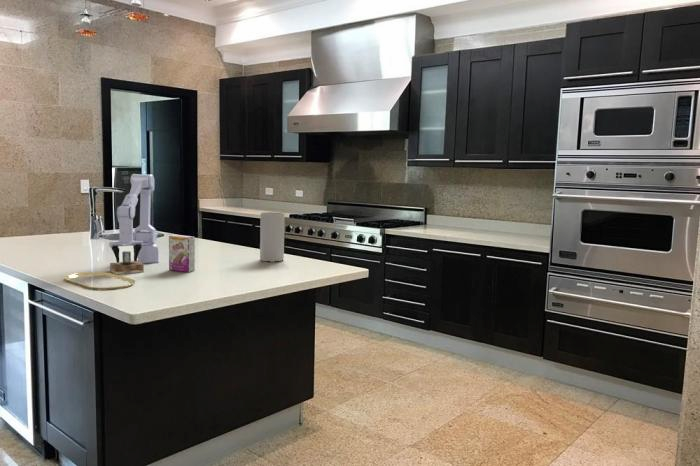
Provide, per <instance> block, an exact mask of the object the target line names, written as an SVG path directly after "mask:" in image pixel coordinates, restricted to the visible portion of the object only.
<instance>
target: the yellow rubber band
mask: <svg viewBox="0 0 700 466" xmlns="http://www.w3.org/2000/svg"><path fill="white" fill-rule="evenodd" d="M85 275H87V276H103V275H106V276H105V277H109V276H110V277H109V278H112V277H114V278H113V279H116V278H117V280H119V279H121V280H120V281H123V282H126V281H128V282H127V283H129V284H125V285H119V286H110V287H109V286H107V287H106V286H105V287H104V286H102V287H101V286H98V287H97V286H89V285H86V284H83V283H80V282H76V281H74V280H71V279H74V278H77V277H78V276H79V277H84V276H85ZM85 277H86V276H85ZM64 279H65V281H67V282H68V283H72V284H75V285H78V286H80V285H81V287H84V288H86V289H87V288H88V289H90V288H92V289H91V290H97V289H112V290H118V289H117V288H121V289H126V288H129V287H131V285H132V286H133V285H134V284H135V282H136V280H135V279H133V278H129V277H126V276H121V275H120V274H115V273H111V272H104V271H101V272H99V271H92V272H91V271H90V272H89V271H88V272H79V273H73V274H68V275H67V276H66V277H64ZM125 287H126V288H125Z"/></svg>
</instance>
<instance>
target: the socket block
mask: <svg viewBox="0 0 700 466" xmlns="http://www.w3.org/2000/svg"><path fill="white" fill-rule="evenodd" d="M144 267H145V266H144V263H140V262H138V261H134V260H131V264H129V265H123V262H122V261H121V262H120V261H119V263H117V262H109V270H110V272H112V274H115V275H123V274H134V273H144V272H145V271H144V270H145V269H144Z"/></svg>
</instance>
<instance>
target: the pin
mask: <svg viewBox="0 0 700 466" xmlns="http://www.w3.org/2000/svg"><path fill="white" fill-rule="evenodd" d="M121 255H122V257H121V259H122V261H121V262H123V265H129V264H131V261H132V255H131V251H129V250H128V251H127V250H124V251H122V252H121Z"/></svg>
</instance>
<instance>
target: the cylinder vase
mask: <svg viewBox="0 0 700 466" xmlns="http://www.w3.org/2000/svg"><path fill="white" fill-rule="evenodd" d="M259 228H260V229H259V231H260V232H259V233H260V234H259V235H260V237H259V238H260V239H259V240H260V241H259V242H260V243H259V261H261V260H262V262H265V261H270V262H269V263H276V262H275V261H279V262H282V260H283V261H284V258H285V256H284V255H285V254H284V253H285V213H282V212H274V211H273V212H272V211H271V212H269V211H268V212H261V213H260V227H259Z"/></svg>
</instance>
